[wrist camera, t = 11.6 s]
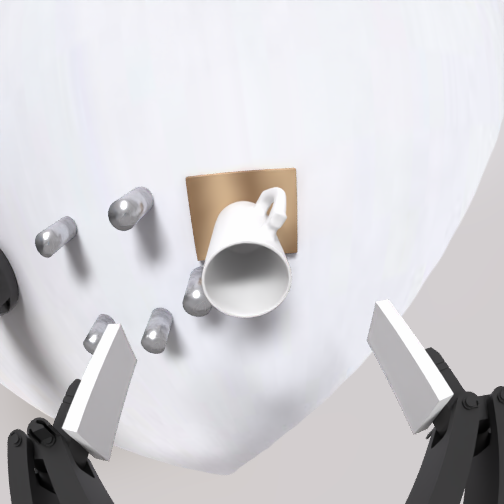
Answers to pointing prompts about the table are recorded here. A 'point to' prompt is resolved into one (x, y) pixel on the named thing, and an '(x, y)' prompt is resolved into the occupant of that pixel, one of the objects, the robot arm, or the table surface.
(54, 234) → the cylinder
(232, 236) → the mug
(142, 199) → the cylinder
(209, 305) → the cylinder
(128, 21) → the table surface
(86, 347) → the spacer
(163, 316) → the cylinder
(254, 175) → the trivet
